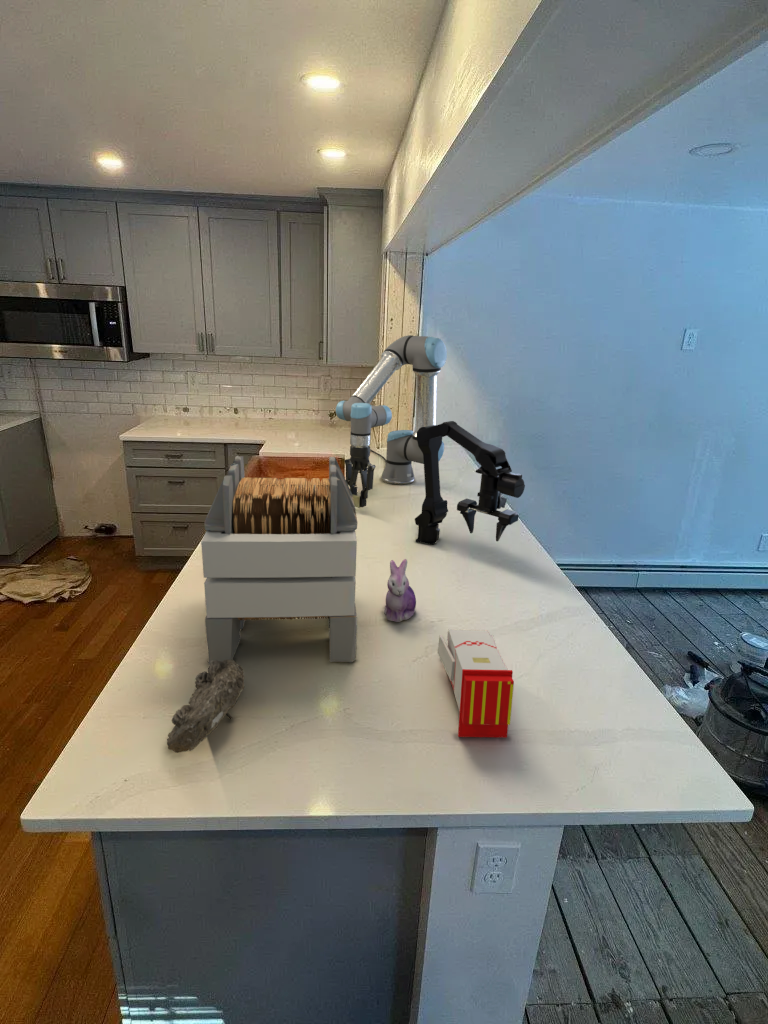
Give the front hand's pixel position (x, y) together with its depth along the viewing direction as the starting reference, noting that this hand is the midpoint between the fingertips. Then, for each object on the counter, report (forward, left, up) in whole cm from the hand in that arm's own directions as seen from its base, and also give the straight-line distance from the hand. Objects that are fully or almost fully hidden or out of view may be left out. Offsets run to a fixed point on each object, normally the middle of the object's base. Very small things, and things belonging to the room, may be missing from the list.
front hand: (484, 536), depth 178 cm
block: (-55, +22, -6) cm, 59 cm away
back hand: (-55, +21, -6) cm, 59 cm away
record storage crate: (-33, -61, -9) cm, 70 cm away
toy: (+15, -65, -9) cm, 68 cm away
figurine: (-10, -43, -9) cm, 45 cm away
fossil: (-27, -96, -9) cm, 100 cm away
